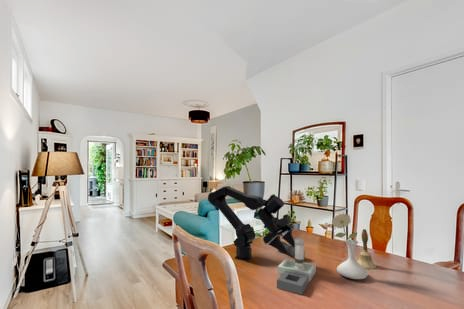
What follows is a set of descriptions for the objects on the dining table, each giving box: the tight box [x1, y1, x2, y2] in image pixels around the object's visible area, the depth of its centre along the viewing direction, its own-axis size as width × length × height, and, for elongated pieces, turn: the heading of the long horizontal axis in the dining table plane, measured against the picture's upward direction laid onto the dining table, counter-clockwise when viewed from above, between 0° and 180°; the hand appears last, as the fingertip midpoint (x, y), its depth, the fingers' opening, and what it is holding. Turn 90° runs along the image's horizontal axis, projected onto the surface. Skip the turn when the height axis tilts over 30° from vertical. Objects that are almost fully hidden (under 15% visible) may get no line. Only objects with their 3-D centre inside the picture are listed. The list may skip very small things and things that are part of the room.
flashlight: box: [277, 240, 306, 259], centre depth 123 cm, size 15×5×5 cm, turn 31°
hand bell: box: [356, 228, 377, 270], centre depth 111 cm, size 8×8×16 cm
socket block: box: [276, 271, 309, 296], centre depth 91 cm, size 9×9×3 cm
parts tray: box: [277, 258, 317, 283], centre depth 103 cm, size 13×10×3 cm
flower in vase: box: [331, 212, 369, 280], centre depth 101 cm, size 13×11×25 cm
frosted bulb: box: [293, 237, 305, 271], centre depth 102 cm, size 4×4×13 cm
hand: (291, 250), depth 105 cm, fingers open, 9 cm apart
